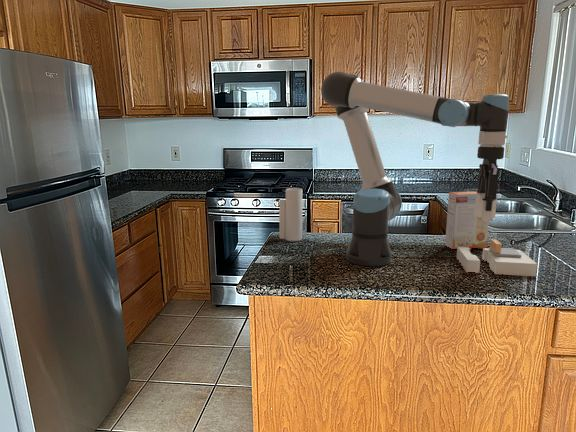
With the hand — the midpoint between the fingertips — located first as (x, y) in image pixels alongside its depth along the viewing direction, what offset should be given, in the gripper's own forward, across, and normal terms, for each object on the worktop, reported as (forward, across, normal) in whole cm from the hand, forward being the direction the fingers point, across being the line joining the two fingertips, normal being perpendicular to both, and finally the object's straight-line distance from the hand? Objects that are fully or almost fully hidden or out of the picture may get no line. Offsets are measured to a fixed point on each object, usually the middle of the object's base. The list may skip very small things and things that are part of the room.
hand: (483, 218), depth 140 cm
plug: (0, 0, 0) cm, 0 cm away
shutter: (+11, 0, -7) cm, 13 cm away
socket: (+15, -2, -4) cm, 16 cm away
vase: (+15, +21, +67) cm, 72 cm away
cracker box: (+16, +20, 0) cm, 25 cm away
